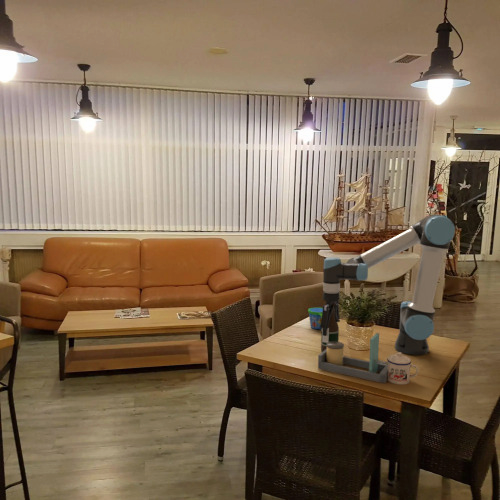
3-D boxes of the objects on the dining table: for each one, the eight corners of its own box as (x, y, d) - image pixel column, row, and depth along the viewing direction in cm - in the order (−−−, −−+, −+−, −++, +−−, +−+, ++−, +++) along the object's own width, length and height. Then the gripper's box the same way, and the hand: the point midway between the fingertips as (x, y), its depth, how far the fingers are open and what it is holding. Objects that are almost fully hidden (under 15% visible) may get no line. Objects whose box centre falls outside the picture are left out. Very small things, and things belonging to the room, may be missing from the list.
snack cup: (304, 323, 260) (305, 306, 258) (322, 323, 261) (323, 305, 259) (311, 332, 244) (312, 313, 243) (331, 331, 245) (331, 313, 244)
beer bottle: (337, 356, 209) (339, 305, 206) (320, 355, 210) (321, 304, 207) (338, 351, 216) (339, 300, 213) (321, 349, 218) (322, 300, 215)
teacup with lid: (385, 383, 181) (386, 355, 180) (386, 375, 190) (387, 347, 188) (418, 388, 177) (419, 358, 176) (417, 378, 186) (419, 351, 184)
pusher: (392, 373, 189) (394, 335, 187) (386, 381, 182) (388, 342, 180) (375, 370, 193) (376, 333, 191) (368, 377, 185) (370, 339, 183)
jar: (342, 364, 200) (343, 341, 199) (343, 370, 193) (343, 347, 192) (326, 362, 202) (326, 340, 200) (325, 369, 195) (326, 346, 193)
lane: (392, 373, 191) (393, 359, 190) (384, 383, 181) (385, 368, 180) (328, 359, 205) (329, 346, 204) (318, 368, 195) (318, 355, 194)
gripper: (332, 286, 221) (331, 331, 224) (313, 295, 202) (312, 344, 205) (347, 288, 217) (346, 333, 220) (329, 297, 198) (328, 347, 201)
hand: (329, 338), depth 212 cm, fingers open, 10 cm apart
